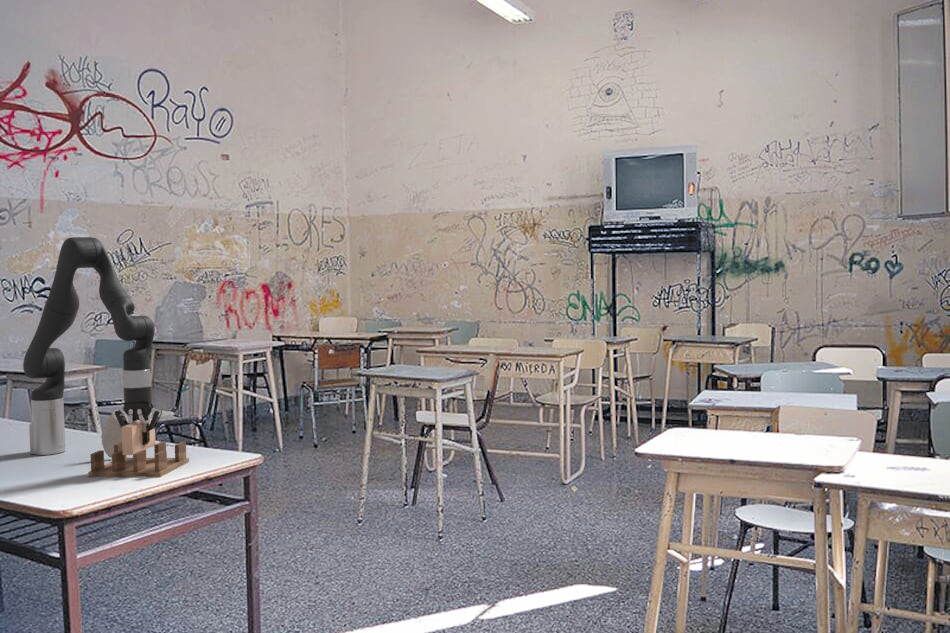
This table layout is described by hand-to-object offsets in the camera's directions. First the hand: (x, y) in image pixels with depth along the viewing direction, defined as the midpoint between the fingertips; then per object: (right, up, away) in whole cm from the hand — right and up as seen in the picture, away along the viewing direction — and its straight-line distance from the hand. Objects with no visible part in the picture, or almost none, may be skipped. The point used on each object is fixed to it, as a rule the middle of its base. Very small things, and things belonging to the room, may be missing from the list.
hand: (139, 444), depth 250 cm
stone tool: (-13, -7, +16) cm, 21 cm away
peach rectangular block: (0, -2, 0) cm, 2 cm away
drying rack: (0, -7, 0) cm, 7 cm away
